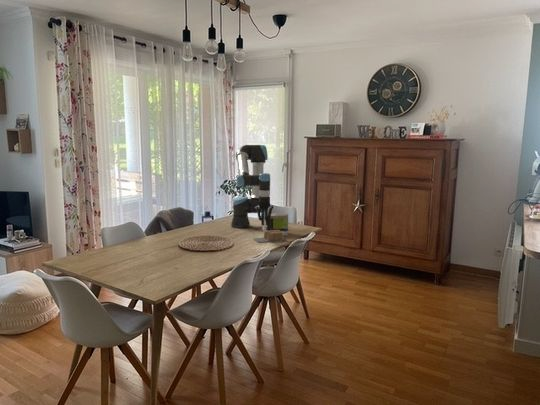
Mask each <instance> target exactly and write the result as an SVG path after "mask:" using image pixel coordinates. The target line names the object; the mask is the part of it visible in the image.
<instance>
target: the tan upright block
mask: <svg viewBox="0 0 540 405" xmlns="http://www.w3.org/2000/svg"><path fill="white" fill-rule="evenodd" d="M263 238H265V239H266V240H268V241H273V240H283V238H284V235H283V232H281V231H280V230H269V231H267V230H263Z"/></svg>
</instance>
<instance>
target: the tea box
mask: <svg viewBox="0 0 540 405" xmlns="http://www.w3.org/2000/svg"><path fill="white" fill-rule="evenodd" d="M269 230H280V231H281V232H283V236H288V234H289V213H271V217H270V220H268V221H267V225H266V231H269Z"/></svg>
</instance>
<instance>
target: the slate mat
mask: <svg viewBox="0 0 540 405" xmlns="http://www.w3.org/2000/svg"><path fill="white" fill-rule="evenodd" d="M253 241H255V242H256V243H258V244H262V243H271V242H284V241H286V239H285V238H284V237H283V240H273V241H268V240H266V239H265V238H264V237H256V238H253Z"/></svg>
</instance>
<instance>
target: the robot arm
mask: <svg viewBox="0 0 540 405" xmlns="http://www.w3.org/2000/svg"><path fill="white" fill-rule="evenodd" d="M268 155H269V154H268V148H267V147H266V145H264V144H245V145H242V146H240V147H239V148H238V149H237V151H236V152H235V160H236V162H237V171H238V175H236V185H237V186H238V187H251V188H252V190H251V191H252V192H251V193H252V194H251V195H250V198H249V197H248V196H239V197H235V198H234V199H233V200H232V205H233V206H232V211H233V212H232V213H233V214H232V220H231V222H230V227H231V228H234V229H246V228H249V227H250V226H251V223H250V220H249V216H248V215H249V214H257V218H258V220H259V221H261V224H260V225H261V226H262V231H267V221H268V220H270V217H271V214H272V211H273V208H274V207H275V206H274V205H272V204H271V174H270V173H265V172H264V165H265V164H266V161H268ZM249 161H250V163H251V165H252V174H250V170H249Z"/></svg>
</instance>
